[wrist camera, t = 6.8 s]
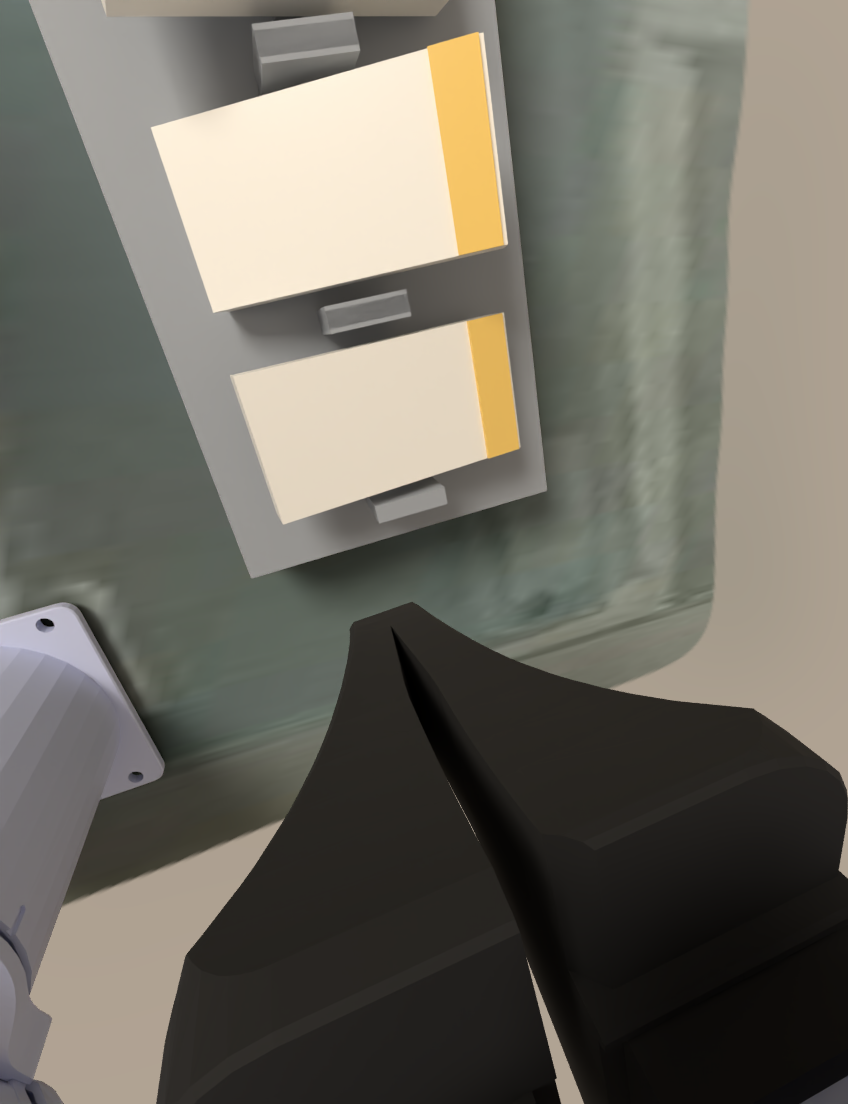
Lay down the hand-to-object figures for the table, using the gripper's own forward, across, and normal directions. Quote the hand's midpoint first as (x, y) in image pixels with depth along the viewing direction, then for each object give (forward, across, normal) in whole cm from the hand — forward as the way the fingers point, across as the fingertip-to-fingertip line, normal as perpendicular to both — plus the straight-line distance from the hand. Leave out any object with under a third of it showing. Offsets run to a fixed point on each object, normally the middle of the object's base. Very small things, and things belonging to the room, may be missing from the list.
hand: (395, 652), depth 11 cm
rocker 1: (+5, -2, -9) cm, 10 cm away
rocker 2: (+5, -2, -4) cm, 7 cm away
